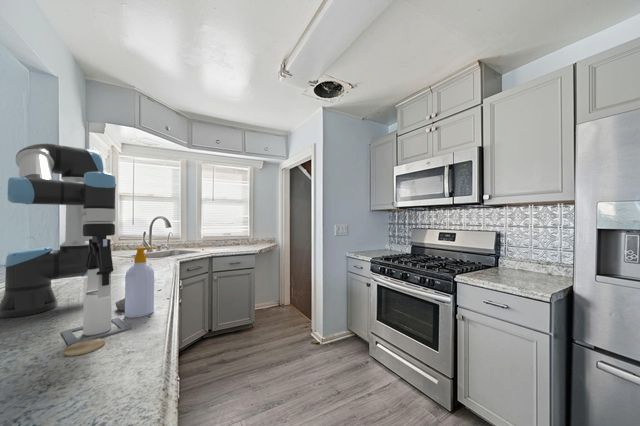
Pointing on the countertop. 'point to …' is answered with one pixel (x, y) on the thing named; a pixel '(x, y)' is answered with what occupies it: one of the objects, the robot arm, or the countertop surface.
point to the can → (96, 314)
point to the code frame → (72, 339)
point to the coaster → (84, 347)
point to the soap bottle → (139, 287)
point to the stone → (121, 304)
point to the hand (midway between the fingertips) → (98, 293)
